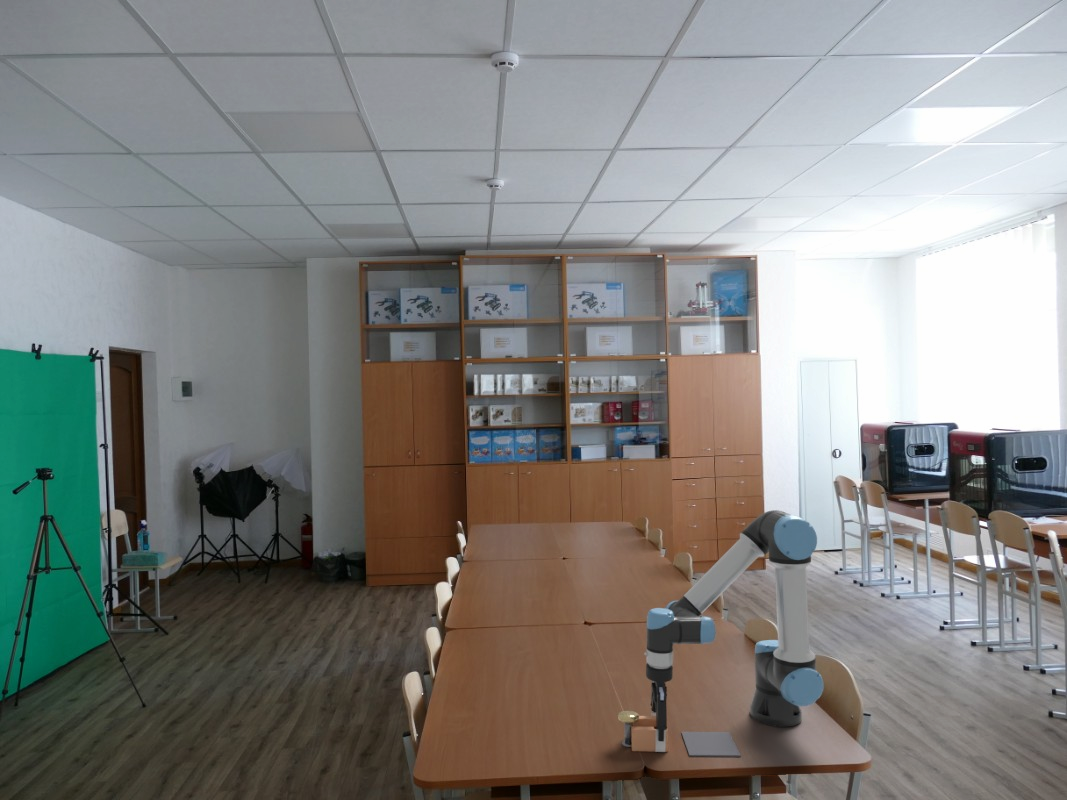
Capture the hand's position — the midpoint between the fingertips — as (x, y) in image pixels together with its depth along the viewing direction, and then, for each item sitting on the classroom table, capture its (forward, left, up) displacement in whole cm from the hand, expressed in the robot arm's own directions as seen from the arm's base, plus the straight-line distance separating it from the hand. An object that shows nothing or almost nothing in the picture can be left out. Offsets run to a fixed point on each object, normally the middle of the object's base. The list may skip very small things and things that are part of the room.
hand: (658, 742), depth 204 cm
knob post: (+8, 0, 0) cm, 8 cm away
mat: (-15, 0, 0) cm, 15 cm away
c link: (+3, 0, 0) cm, 3 cm away
